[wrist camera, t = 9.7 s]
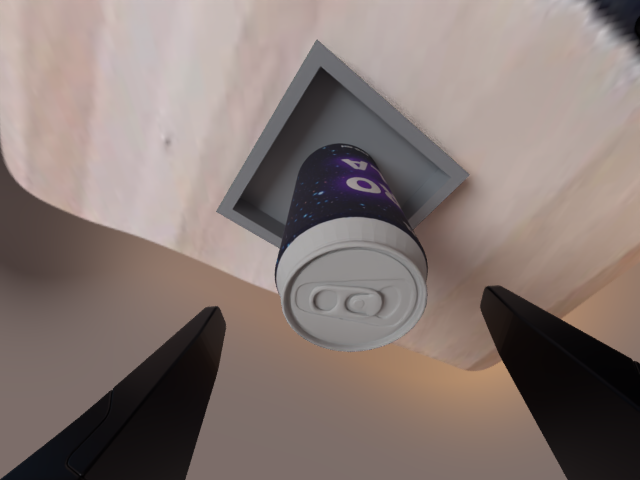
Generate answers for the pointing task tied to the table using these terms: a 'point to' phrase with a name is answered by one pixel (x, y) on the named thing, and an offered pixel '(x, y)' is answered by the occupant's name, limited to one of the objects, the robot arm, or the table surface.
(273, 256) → the table surface
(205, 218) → the table surface
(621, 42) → the table surface
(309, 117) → the tray
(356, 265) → the beverage can
